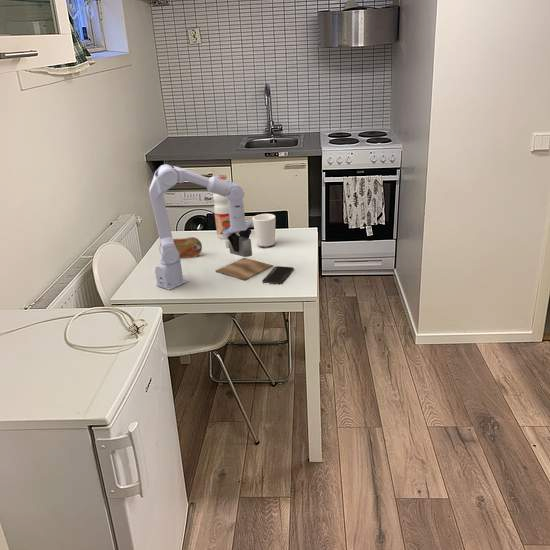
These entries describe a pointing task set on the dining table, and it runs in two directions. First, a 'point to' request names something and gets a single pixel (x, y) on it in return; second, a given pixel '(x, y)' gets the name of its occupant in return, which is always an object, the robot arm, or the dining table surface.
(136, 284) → the dining table surface
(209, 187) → the robot arm
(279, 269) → the phone
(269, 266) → the board
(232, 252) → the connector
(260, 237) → the cup
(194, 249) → the tin
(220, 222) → the fruit juice
